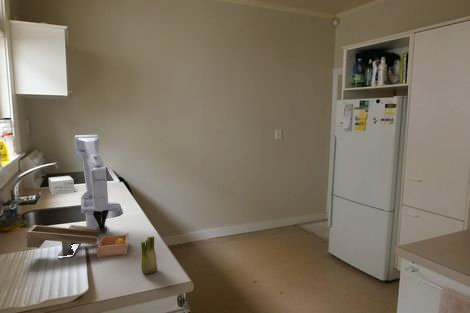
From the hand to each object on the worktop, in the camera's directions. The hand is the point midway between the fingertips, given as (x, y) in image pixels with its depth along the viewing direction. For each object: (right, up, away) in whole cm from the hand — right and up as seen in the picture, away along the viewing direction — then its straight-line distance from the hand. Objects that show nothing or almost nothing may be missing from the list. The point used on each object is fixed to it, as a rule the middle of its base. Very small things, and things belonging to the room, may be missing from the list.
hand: (102, 228), depth 131 cm
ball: (+10, -4, -7) cm, 13 cm away
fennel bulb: (+26, -9, -24) cm, 37 cm away
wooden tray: (-10, -3, -8) cm, 13 cm away
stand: (-10, -7, -7) cm, 13 cm away
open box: (+8, -7, -8) cm, 13 cm away
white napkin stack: (-64, +5, +86) cm, 107 cm away
